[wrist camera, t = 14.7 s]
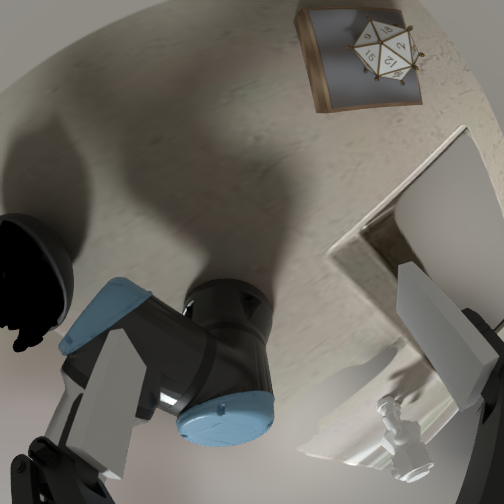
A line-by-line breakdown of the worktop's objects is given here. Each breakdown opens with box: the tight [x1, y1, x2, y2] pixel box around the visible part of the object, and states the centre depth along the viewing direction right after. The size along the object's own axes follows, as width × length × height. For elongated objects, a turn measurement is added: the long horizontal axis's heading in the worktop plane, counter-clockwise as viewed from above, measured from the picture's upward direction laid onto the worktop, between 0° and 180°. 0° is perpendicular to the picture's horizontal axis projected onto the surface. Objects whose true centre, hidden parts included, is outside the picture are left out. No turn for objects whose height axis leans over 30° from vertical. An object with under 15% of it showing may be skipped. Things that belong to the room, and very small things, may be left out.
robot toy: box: [376, 396, 434, 483], centre depth 58 cm, size 22×12×25 cm, turn 42°
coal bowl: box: [0, 213, 74, 352], centre depth 35 cm, size 20×20×19 cm
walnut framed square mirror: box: [294, 7, 423, 113], centre depth 31 cm, size 14×14×6 cm
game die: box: [345, 13, 425, 86], centre depth 25 cm, size 9×8×10 cm
